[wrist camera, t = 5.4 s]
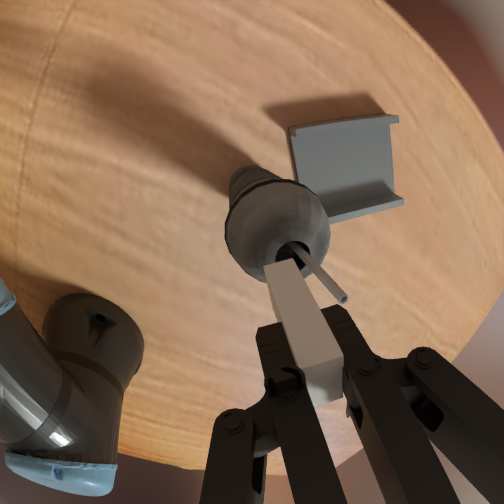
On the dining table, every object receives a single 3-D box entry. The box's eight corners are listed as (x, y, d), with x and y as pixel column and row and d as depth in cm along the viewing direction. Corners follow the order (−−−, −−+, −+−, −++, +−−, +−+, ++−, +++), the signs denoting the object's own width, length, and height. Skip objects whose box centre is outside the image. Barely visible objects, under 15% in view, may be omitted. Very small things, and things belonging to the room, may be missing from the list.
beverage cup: (211, 158, 29) (227, 248, 11) (282, 148, 29) (397, 219, 12) (221, 224, 32) (249, 372, 15) (287, 213, 33) (377, 340, 15)
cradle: (304, 220, 33) (311, 229, 31) (288, 127, 28) (295, 129, 26) (392, 198, 34) (403, 205, 32) (386, 113, 29) (398, 115, 26)
